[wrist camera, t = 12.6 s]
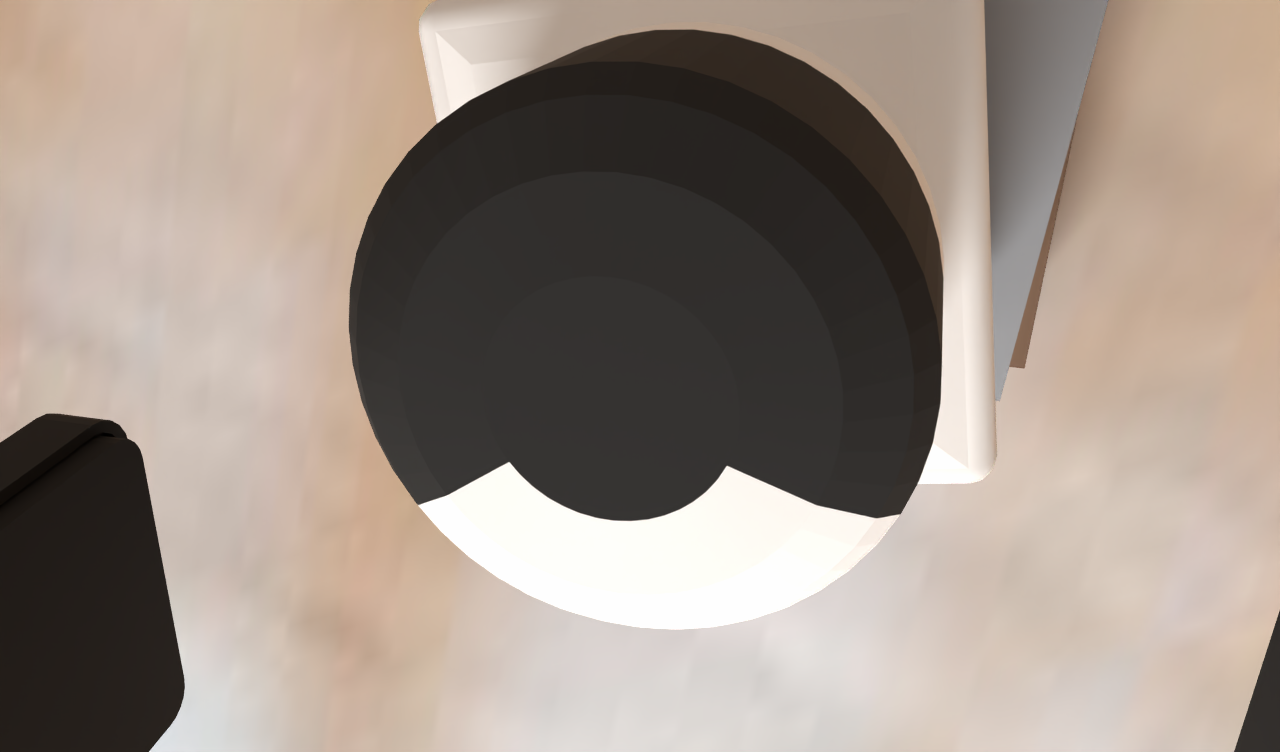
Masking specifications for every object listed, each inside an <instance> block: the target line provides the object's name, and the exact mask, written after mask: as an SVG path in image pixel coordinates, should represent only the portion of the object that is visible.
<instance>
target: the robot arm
mask: <svg viewBox="0 0 1280 752" xmlns="http://www.w3.org/2000/svg"><path fill="white" fill-rule="evenodd" d="M184 689H185V684H184V675H183V670H182V664H181V659H180V654H179V648H178V643H177V638H176V632H175V627H174V622H173V616H172V611H171V606H170V600H169V595H168V590H167V585H166V579H165V574H164V569H163V563H162V558H161V553H160V547H159V542H158V537H157V531H156V526H155V521H154V515H153V510H152V505H151V499H150V494H149V489H148V484H147V478H146V473H145V468H144V462H143V457H142V454H141V451H140V449H139V447H138V446H137V445H136V443H135V442H133V441H131V440H129V439H127V436H126V433H125V432H124V431H123V429H122V428H121V427H120V425H118V424H116V423H115V422H113V421H110V420H103V419H95V418H87V417H79V416H72V415H64V414H45V415H43V416H41V417H39V418H36V419H35V420H33V421H32V422H30V423H29V424H28V425H26V426H25V427H23V428H22V429H20V430H19V431H17V432H16V433H14V434H13V435H11V436H10V437H8V438H7V439H5V440H4V441H2V442H1V443H0V752H149V751H150V750H151V748H152V747H153V746H154V745H155V743H156V742H157V741H158V740H159V739H160V737H161V736H162V735H163V734H164V733H165V731H166V730H167V729H168V728H169V727H170V725H171V724H172V722H173V721H174V719H175V718H176V716H177V714H178V712H179V710H180V707H181V704H182V700H183V697H184ZM1234 752H1280V612H1279V615H1278V618H1277V621H1276V624H1275V627H1274V630H1273V633H1272V636H1271V639H1270V643H1269V646H1268V649H1267V652H1266V655H1265V658H1264V661H1263V664H1262V667H1261V670H1260V673H1259V677H1258V680H1257V683H1256V686H1255V689H1254V692H1253V695H1252V698H1251V701H1250V704H1249V708H1248V711H1247V714H1246V717H1245V720H1244V723H1243V726H1242V729H1241V732H1240V735H1239V739H1238V742H1237V745H1236V748H1235V751H1234Z"/></svg>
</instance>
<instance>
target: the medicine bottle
mask: <svg viewBox="0 0 1280 752" xmlns="http://www.w3.org/2000/svg"><path fill="white" fill-rule="evenodd" d="M419 35H420V40H421V45H422V50H423V55H424V60H425V65H426V70H427V75H428V80H429V85H430V90H431V95H432V100H433V105H434V110H435V115H436V120H437V124H436V125H435V126H434V127H433V128H432V129H431V130H430V131H429V132H428V133H427V134H426V135H425V136H424V137H423V138H422V139H421V140H420V141H419V142H418V143H417V144H416V145H415V146H414V147H413V148H412V149H411V150H410V151H409V152H408V153H407V155H406V156H405V157H404V159H403V160H402V161H401V163H400V164H399V166H398V167H397V168H396V170H395V171H394V172H393V174H392V175H391V177H390V178H389V179H388V181H387V182H386V184H385V185H384V187H383V189H382V191H381V193H380V195H379V197H378V199H377V201H376V203H375V205H374V207H373V209H372V211H371V213H370V215H369V217H368V219H367V222H366V225H365V229H364V232H363V235H362V238H361V241H360V244H359V247H358V250H357V253H356V258H355V264H354V269H353V275H352V281H351V287H350V305H349V334H350V343H351V352H352V361H353V367H354V371H355V375H356V380H357V384H358V388H359V392H360V396H361V400H362V403H363V406H364V408H365V411H366V413H367V416H368V419H369V421H370V424H371V426H372V429H373V432H374V434H375V437H376V439H377V440H378V442H379V444H380V446H381V448H382V450H383V452H384V454H385V456H386V457H387V459H388V461H389V463H390V465H391V467H392V469H393V470H394V472H395V473H396V475H397V476H398V478H399V479H400V480H401V482H402V483H403V485H404V486H405V488H406V489H407V491H408V492H409V493H410V495H411V496H412V498H413V499H414V501H415V502H416V503H417V504H418V506H419V507H420V508H421V509H422V510H423V511H424V513H425V514H426V515H427V516H428V517H429V518H430V519H431V520H432V522H433V523H434V524H435V525H436V526H437V527H438V528H439V530H440V531H441V532H442V533H443V534H444V535H445V536H447V537H448V538H449V539H450V540H451V541H452V542H453V543H454V544H455V545H456V546H458V547H459V548H460V549H461V550H462V551H463V552H464V553H465V554H466V555H467V556H469V557H470V558H471V559H473V560H474V561H476V562H477V563H478V564H480V565H481V566H483V567H484V568H485V569H487V570H488V571H489V572H491V573H492V574H494V575H495V576H496V577H498V578H500V579H501V580H503V581H505V582H507V583H508V584H510V585H512V586H514V587H516V588H517V589H519V590H521V591H523V592H524V593H526V594H528V595H530V596H532V597H535V598H537V599H539V600H542V601H544V602H546V603H549V604H551V605H553V606H556V607H558V608H560V609H563V610H567V611H570V612H573V613H577V614H580V615H583V616H587V617H590V618H593V619H597V620H601V621H606V622H612V623H617V624H623V625H629V626H634V627H642V628H660V629H691V628H706V627H716V626H721V625H727V624H732V623H737V622H742V621H747V620H751V619H754V618H757V617H760V616H763V615H766V614H769V613H772V612H775V611H778V610H781V609H784V608H787V607H789V606H791V605H793V604H795V603H797V602H799V601H801V600H803V599H805V598H807V597H809V596H811V595H813V594H815V593H817V592H819V591H820V590H822V589H823V588H825V587H826V586H827V585H829V584H830V583H832V582H833V581H835V580H836V579H837V578H839V577H840V576H842V575H843V574H845V573H846V572H848V571H849V570H850V569H851V568H852V567H853V566H855V565H856V564H857V563H858V562H859V561H860V560H861V559H862V558H863V557H864V556H865V555H866V554H867V553H868V552H869V551H870V550H872V549H873V548H874V547H875V546H876V545H877V544H878V543H879V541H880V540H881V539H882V537H883V536H884V535H885V534H886V532H887V531H888V530H889V528H890V527H891V526H892V525H893V523H894V522H895V521H896V519H897V518H898V517H899V516H900V514H901V513H902V511H903V509H904V507H905V505H906V504H907V502H908V500H909V498H910V496H911V495H912V493H913V491H914V489H915V487H916V486H917V484H950V483H973V482H977V481H981V480H982V479H984V478H985V477H986V476H987V475H988V474H989V473H990V472H991V471H992V469H993V467H994V464H995V460H996V457H997V444H996V408H995V372H994V336H993V300H992V265H991V229H990V193H989V157H988V121H987V86H986V50H985V14H984V0H437V1H435V2H432V3H430V4H429V5H428V6H427V8H426V9H425V11H424V12H423V14H422V16H421V17H420V19H419Z"/></svg>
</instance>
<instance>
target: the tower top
mask: <svg viewBox="0 0 1280 752" xmlns="http://www.w3.org/2000/svg"><path fill="white" fill-rule="evenodd" d="M1107 4H1108V0H984V14H985V50H986V86H987V121H988V157H989V193H990V229H991V265H992V300H993V336H994V372H995V400H996V401H1000V398H1001V395H1002V391H1003V387H1004V384H1005V380H1006V376H1007V372H1008V369H1009V365H1010V361H1011V358H1012V354H1013V350H1014V347H1015V343H1016V339H1017V336H1018V332H1019V328H1020V325H1021V321H1022V317H1023V313H1024V310H1025V306H1026V302H1027V299H1028V295H1029V291H1030V288H1031V284H1032V280H1033V277H1034V273H1035V269H1036V266H1037V262H1038V258H1039V254H1040V251H1041V247H1042V243H1043V240H1044V236H1045V232H1046V229H1047V225H1048V221H1049V218H1050V214H1051V210H1052V207H1053V203H1054V199H1055V195H1056V192H1057V188H1058V184H1059V181H1060V177H1061V173H1062V170H1063V166H1064V162H1065V159H1066V155H1067V151H1068V148H1069V144H1070V140H1071V136H1072V133H1073V129H1074V125H1075V122H1076V118H1077V114H1078V111H1079V107H1080V103H1081V100H1082V96H1083V92H1084V89H1085V85H1086V81H1087V77H1088V74H1089V70H1090V66H1091V63H1092V59H1093V55H1094V52H1095V48H1096V44H1097V41H1098V37H1099V33H1100V29H1101V26H1102V22H1103V18H1104V15H1105V11H1106V7H1107Z"/></svg>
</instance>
